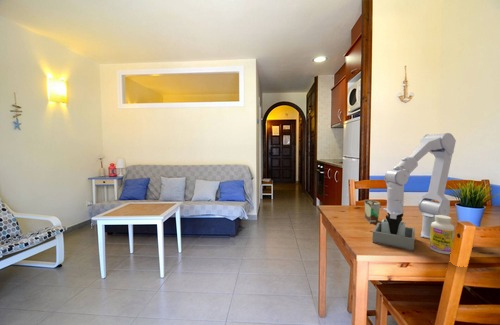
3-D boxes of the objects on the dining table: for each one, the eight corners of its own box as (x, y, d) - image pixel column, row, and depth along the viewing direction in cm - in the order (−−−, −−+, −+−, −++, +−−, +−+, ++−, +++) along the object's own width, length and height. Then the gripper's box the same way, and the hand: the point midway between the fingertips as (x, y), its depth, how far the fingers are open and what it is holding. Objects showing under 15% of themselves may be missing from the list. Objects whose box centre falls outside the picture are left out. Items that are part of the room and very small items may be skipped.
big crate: (414, 238, 97) (414, 228, 96) (413, 251, 85) (414, 239, 85) (377, 232, 105) (378, 222, 104) (372, 242, 93) (372, 231, 93)
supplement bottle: (428, 250, 85) (429, 216, 85) (431, 245, 90) (432, 213, 89) (452, 256, 80) (454, 220, 80) (454, 250, 85) (455, 216, 84)
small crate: (405, 236, 94) (405, 222, 94) (404, 240, 91) (404, 225, 90) (382, 232, 99) (382, 219, 99) (381, 236, 95) (381, 221, 95)
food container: (384, 225, 115) (384, 205, 114) (370, 224, 116) (371, 204, 115) (376, 218, 127) (376, 200, 126) (363, 217, 128) (364, 199, 128)
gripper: (385, 195, 102) (385, 225, 103) (381, 201, 90) (380, 235, 91) (405, 197, 98) (404, 228, 99) (403, 203, 86) (402, 239, 87)
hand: (394, 232), depth 95 cm, fingers closed on small crate, 5 cm apart
